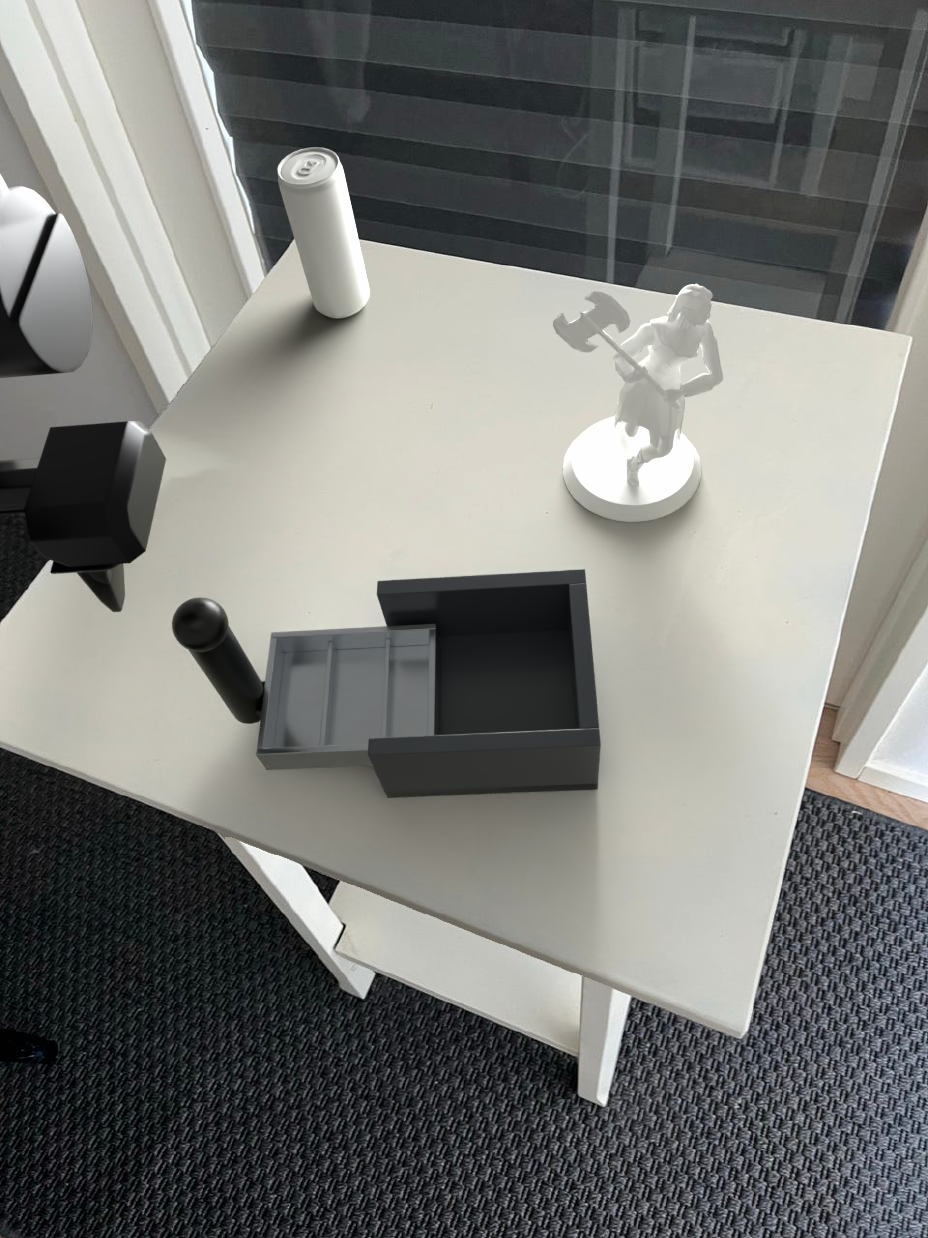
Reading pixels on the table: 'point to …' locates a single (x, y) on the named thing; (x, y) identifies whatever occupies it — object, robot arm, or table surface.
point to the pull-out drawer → (320, 685)
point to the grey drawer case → (499, 686)
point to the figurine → (642, 410)
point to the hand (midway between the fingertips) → (31, 609)
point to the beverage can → (324, 230)
